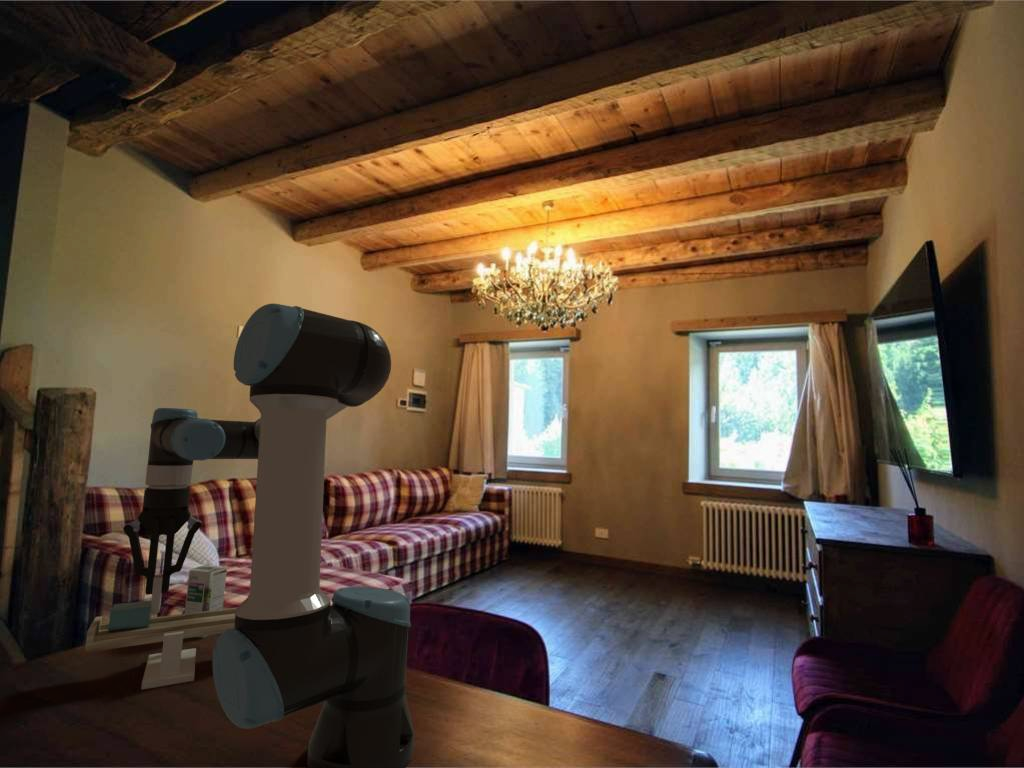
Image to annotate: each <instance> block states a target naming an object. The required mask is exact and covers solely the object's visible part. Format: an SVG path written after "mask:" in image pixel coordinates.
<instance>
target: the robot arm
mask: <svg viewBox="0 0 1024 768" xmlns="http://www.w3.org/2000/svg"><path fill="white" fill-rule="evenodd" d="M233 370H234V376H235V378H236V380H237V381H238V382H239V383H241V384H243V385H244V386H248V387H249V402H250V403H251V404H252V405H253V406H254V407H255V408H256V409H257V410H258V411H259V413H260V417H259V418H258V419H257V420H256V421H245V420H243V421H240V420H223V419H221V420H220V419H209V418H199V417H198V411H196V410H195V409H191V408H176V407H175V408H173V407H172V408H171V407H158V408H156V409H155V410H154V412H153V416H152V420H151V423H150V436H149V437H150V439H149V447H148V457H147V465H146V475H145V481H144V482H145V483H144V484H145V485H146V486H148V487H146V488H145V489H144V492H143V501H142V502H143V503H142V508H141V512H140V513H139V515H138V517H137V519H134V520H133V521H131V522H128V523H126V524H124V526H123V528H122V529H123V532H124V533H125V534H126V535H127V537H128V540H129V546H130V551H131V556H132V562H133V567H134V572H135V573H134V574H135V575H136V576H142V577H145V578H146V581H145V595H146V596H149V595H151V600H150V601H151V609H150V614H151V615H152V614H157V613H160V611H161V603H162V594H167V593H168V591H169V589H170V582H171V576H172V575H173V574H176V573H178V572H179V573H180V571H181V570H182V569H183V566H184V563H185V561H186V558H187V555H188V554H189V553H188V552H189V549H190V547H191V544H192V542H193V539H194V536H195V534H196V533H197V532H198V531H199V529H200V528H201V527H202V524H203V523H202V520H201V519H196V518H194V517H193V516H192V515H191V512H190V509H189V507H190V506H189V504H190V497H191V496H190V494H191V488H190V487H189V485H190V484H192V478H193V477H192V476H193V475H192V474H193V467H194V464H193V463H194V461H199V462H201V461H205V460H206V461H207V460H257V468H256V485H255V487H256V488H255V502H254V503H255V504H254V518H253V532H252V534H253V535H252V549H251V566H250V583H249V594H248V596H247V597H246V599H244V601H242V602H241V603H240V604H239V605H238V606H237V607H236V608H237V609H236V611H235V625H234V629H228V630H227V631H226V632H224V633H222V634H221V635H220V636H219V637H218V639H217V638H216V641H215V644H214V647H213V650H212V658H211V659H212V663H211V664H212V676H213V677H212V678H213V682H214V688H215V691H216V695H217V698H218V701H219V703H220V705H221V708H222V711H224V714H225V715H226V717H227V718H228V719H229V721H231V722H232V723H233V724H234V725H235V726H236V727H238V728H241V729H247V730H250V729H254V728H259V727H261V726H264V725H266V724H269V723H277V722H280V721H281V720H283V719H284V718H286V717H289V716H291V715H292V714H295V713H298V712H300V711H303V710H305V709H308V708H309V707H312V706H315V705H318V704H320V703H322V702H323V705H322V708H321V710H320V712H319V715H318V718H317V719H316V723H315V726H314V729H313V731H312V733H311V735H310V738H309V742H308V748H307V760H306V763H307V767H308V768H405V767H406V766H407V765H408V764H409V762H410V760H411V759H412V757H413V754H414V747H415V730H414V725H413V722H412V718H411V713H410V710H409V705H408V702H407V697H406V688H407V687H406V686H407V685H406V684H407V673H408V672H407V669H408V658H409V657H408V656H409V643H410V631H411V626H412V623H411V603H410V601H409V599H408V598H407V597H406V595H404V594H402V593H400V592H398V591H395V590H392V589H387V588H382V587H375V586H374V587H373V586H347V587H342V588H339V589H338V590H335V591H334V592H333V596H332V597H330V596H328V594H326V593H325V592H324V591H323V590H322V589H321V587H320V583H321V558H322V557H321V556H322V537H323V536H322V534H323V533H322V532H323V511H324V510H323V507H324V488H325V487H324V485H325V462H326V461H325V460H326V457H325V456H326V439H327V438H326V435H327V420H329V419H331V418H332V417H334V416H335V415H337V414H339V413H340V412H342V411H343V410H345V409H346V408H348V407H349V408H354V407H355V408H356V407H359V406H362V405H363V404H365V403H367V402H368V401H370V400H371V399H373V398H374V397H375V396H376V395H379V392H381V391H382V390H383V389H384V387H385V386H386V384H387V382H388V380H389V378H390V375H391V370H392V357H391V353H390V350H389V346H388V345H387V343H386V341H385V340H384V338H383V337H382V335H380V334H379V332H377V331H376V330H375V329H374V328H372V327H371V326H369V325H367V324H365V323H362V322H359V321H356V320H350V319H345V318H342V317H338V316H333V315H330V314H326V313H322V312H318V311H314V310H311V309H305V308H302V307H301V306H298V305H294V306H291V305H286V304H280V303H267V304H264V305H262V306H261V307H258V308H257V309H256V310H254V312H253V313H252V314H251V316H250V317H249V318H248V320H247V321H246V322H245V324H244V326H243V328H242V329H241V331H240V334H239V337H238V340H237V343H236V346H235V350H234V355H233ZM186 523H187V526H186V528H187V530H188V531H187V533H186V534H185V535H186V536H185V539H184V541H183V543H182V546H181V549H180V552H179V554H178V557H177V560H176V563H175V564H173V565H172V563H173V556H174V555H173V553H174V545H175V538H176V537H175V536H176V534H177V533H178V532H179V531H180V530H181V528H183V527H184V525H185V524H186ZM140 525H141V526H142V527H143V529H144V530H145V531H146V532H147V533H148V535H150V541H149V551H148V560H147V567H146V566H145V563H144V556H143V551H142V547H141V546H142V545H141V542H140V541H141V540H140V536H139V531H140V529H141V528H140V527H141V526H140ZM163 535H164V536H166V537H165V539H166V541H165V550H164V559H163V567H162V573H157V574H156V571H157V560H158V554H159V553H158V551H159V542H160V536H163ZM331 602H332V604H331Z"/></svg>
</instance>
